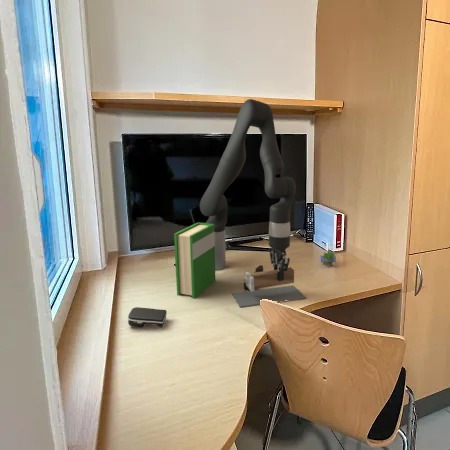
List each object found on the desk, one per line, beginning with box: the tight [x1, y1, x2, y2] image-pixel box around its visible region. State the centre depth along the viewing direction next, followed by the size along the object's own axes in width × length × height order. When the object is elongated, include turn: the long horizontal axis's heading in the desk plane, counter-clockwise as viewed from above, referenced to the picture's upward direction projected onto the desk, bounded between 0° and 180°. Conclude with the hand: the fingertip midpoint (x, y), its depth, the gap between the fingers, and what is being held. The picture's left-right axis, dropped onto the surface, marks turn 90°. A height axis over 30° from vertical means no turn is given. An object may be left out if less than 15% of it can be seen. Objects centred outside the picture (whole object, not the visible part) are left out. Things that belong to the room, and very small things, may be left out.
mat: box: [231, 285, 307, 308], centre depth 134 cm, size 11×25×1 cm, turn 104°
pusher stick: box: [245, 266, 295, 292], centre depth 133 cm, size 6×17×5 cm, turn 105°
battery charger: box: [127, 306, 168, 329], centre depth 116 cm, size 7×4×11 cm
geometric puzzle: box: [320, 250, 337, 268], centre depth 163 cm, size 7×7×8 cm
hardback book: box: [173, 222, 216, 299], centre depth 140 cm, size 18×7×24 cm, turn 155°
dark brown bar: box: [243, 264, 264, 291], centre depth 147 cm, size 19×4×5 cm, turn 155°
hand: (278, 278), depth 134 cm, fingers closed on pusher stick, 3 cm apart
